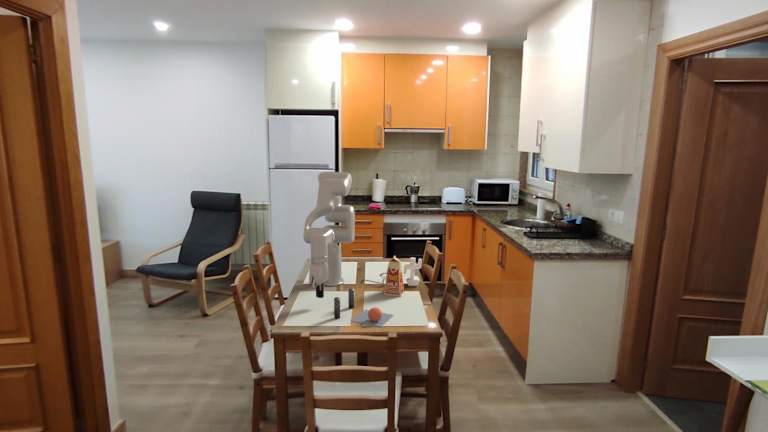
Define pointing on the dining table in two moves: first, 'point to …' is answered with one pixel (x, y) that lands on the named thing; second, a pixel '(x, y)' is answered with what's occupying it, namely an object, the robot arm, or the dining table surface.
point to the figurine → (412, 272)
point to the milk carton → (394, 278)
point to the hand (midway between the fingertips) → (319, 297)
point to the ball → (374, 314)
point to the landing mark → (365, 319)
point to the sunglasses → (377, 282)
